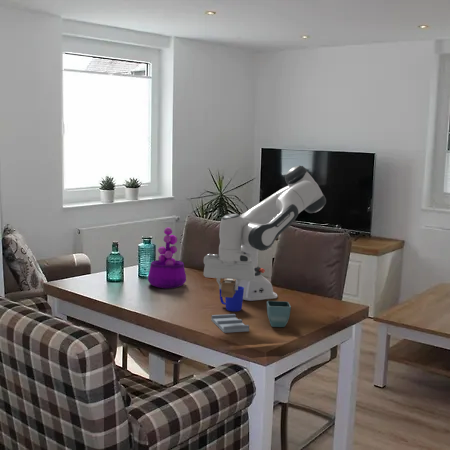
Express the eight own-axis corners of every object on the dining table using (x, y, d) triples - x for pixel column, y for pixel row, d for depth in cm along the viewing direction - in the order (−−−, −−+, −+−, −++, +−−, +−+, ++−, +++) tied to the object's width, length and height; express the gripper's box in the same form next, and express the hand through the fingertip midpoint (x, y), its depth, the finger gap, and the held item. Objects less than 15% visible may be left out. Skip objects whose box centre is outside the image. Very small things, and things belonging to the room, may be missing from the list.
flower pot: (287, 322, 252) (288, 301, 251) (290, 329, 243) (291, 306, 242) (265, 322, 252) (266, 300, 251) (267, 328, 243) (268, 306, 242)
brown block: (224, 291, 252) (224, 277, 251) (235, 292, 251) (236, 278, 251) (220, 296, 243) (221, 282, 242) (232, 297, 242) (232, 283, 242)
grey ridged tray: (234, 319, 255) (234, 313, 254) (248, 331, 239) (249, 325, 238) (211, 320, 252) (211, 315, 251) (224, 332, 236) (224, 327, 235)
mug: (225, 305, 277) (226, 283, 275) (246, 310, 269) (247, 287, 268) (213, 308, 270) (214, 285, 269) (235, 313, 263) (236, 290, 262)
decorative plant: (160, 281, 319) (162, 223, 315) (192, 286, 311) (194, 227, 307) (140, 288, 302) (141, 227, 298) (173, 293, 294) (174, 231, 290)
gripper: (202, 255, 243) (201, 289, 245) (254, 257, 241) (253, 292, 243) (205, 252, 250) (204, 286, 251) (255, 255, 247) (254, 289, 249)
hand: (228, 289), depth 247 cm, fingers closed on brown block, 5 cm apart
